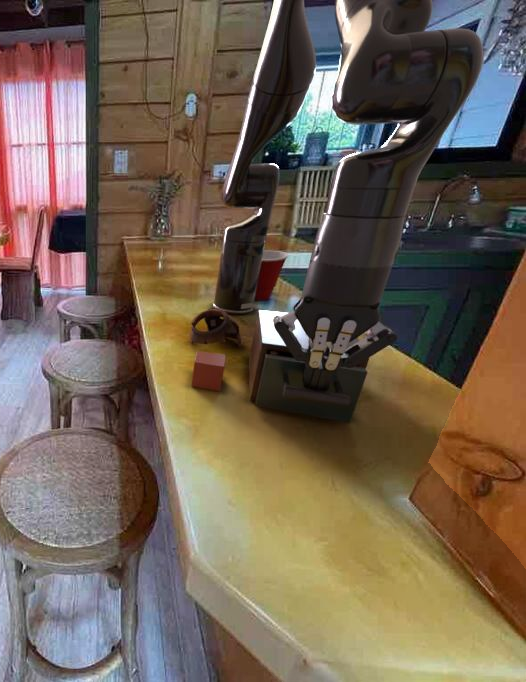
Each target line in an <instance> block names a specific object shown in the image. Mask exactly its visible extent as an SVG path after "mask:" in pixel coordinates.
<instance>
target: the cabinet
mask: <svg viewBox="0 0 526 682" xmlns="http://www.w3.org/2000/svg"><path fill="white" fill-rule="evenodd" d="M287 313H288V312H283V311H272V310H263V309H258V310H257V317H256V322H255V327H254V331H253V338H252V342H251V347H250V352H249V358H248V369H249V370H248V373H249V401H251V402H256V397H257V393H258V388H259V383H260V379H261V374H262V370H263V365H264V360H265V356H266V354H267V350H268V349H269V350H276V351H284V352H290V351H289V349H288V348H287V346H286V345H285V343H284V342H283V340H282V339H281V337H280V336H279V334H278V333H277V331H276V329H275V328H274V323H273V318H274V317H275V316H277V315H280V316H283V315H285V314H287ZM292 332H293V333H294V335H295V337H296V338H297V340H298V341H299V343H300V344H301V346H302V347H303V348H305V349H307V350H308V345H309V337H308V336H307V335H306V333H305V332H304V330H303V328H302V326H301V325H300V323H299V321H298V320H296V321H295V330H294V331H292ZM358 341H360V339H359V337H357V338H356V339H355V340H353V341H351V342H349V343H348V345H347V348H349V347H350V346H352V345H353V344H355V343H356V342H358ZM326 344H327V342H326ZM325 348H326V345H325ZM347 348H346V349H347ZM323 353H324V352H323ZM370 358H371V357H369V358H368V359H366V360H364V361H363V362H361V363H360V364H358V365H356V367H363V368H366V369H367V366H368V364H369V360H370Z"/></svg>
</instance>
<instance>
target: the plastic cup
mask: <svg viewBox="0 0 526 682" xmlns="http://www.w3.org/2000/svg"><path fill="white" fill-rule="evenodd" d="M289 256H290V254H289V253H287V252H284V251H282V250H270V249H269V250H267V249H266V250H265V249H264V251H263V257H262V262H261V268H260V273H259V278H258V284H257V289H256V294H255V299H254V301H255V300H257V301H268V300H269V299H270V298H271V296H272V294H273V291H274V289H275V287H276V284H277V281H278V279H279V277H280V275H281V272H282V269H283V267H284V264H285V262H286V260H287V259H288V257H289Z"/></svg>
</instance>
